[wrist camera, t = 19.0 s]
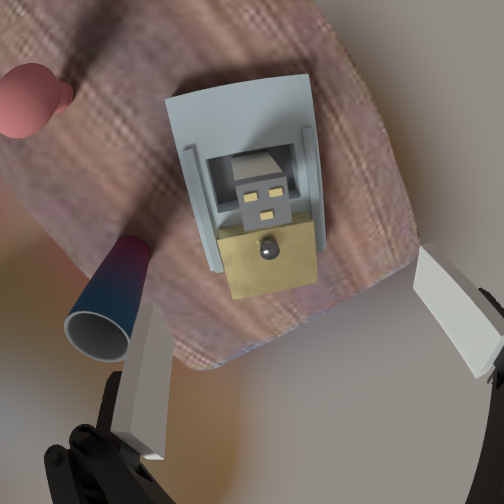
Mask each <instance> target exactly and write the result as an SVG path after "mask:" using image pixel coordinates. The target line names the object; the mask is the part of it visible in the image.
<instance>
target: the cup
mask: <svg viewBox="0 0 504 504" xmlns="http://www.w3.org/2000/svg"><path fill="white" fill-rule="evenodd" d="M149 260H150V252H149V249H148V247H147V245H146V244H145V243H144V242H143V241H142V240H140V239H138V238H136V237H131V236H127V237H123V238H121V239H120V240H118V241H117V243H116V244H115V245H114V247H113V248H112V249H111V251H110V252H109V254H108V255H107V256H106V258H105V259H104V261H103V262H102V264H101V265H100V266H99V268H98V269H97V271H96V272H95V274H94V275H93V277H92V278H91V280H90V281H89V283H88V284H87V286H86V287H85V289H84V290H83V292H82V294H81V295H80V297H79V298H78V300H77V302H76V303H75V305H74V306H73V308H72V310H71V311H70V313H69V314H68V316H67V318H66V320H65V323H64V329H65V333H66V335H67V337H68V339H69V340H70V342H71V343H72V344H73V345H74V347H75V348H77V349H78V350H79V351H80V352H82V353H83V354H85V355H87V356H89V357H91V358H93V359H96V360H99V361H103V362H118V361H121V360H124V359H125V358H126V355H127V351H128V347H129V343H130V339H131V335H132V331H133V328H134V324H135V320H136V317H137V313H138V310H139V306H140V301H141V296H142V291H143V286H144V282H145V277H146V273H147V269H148V264H149Z"/></svg>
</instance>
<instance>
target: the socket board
mask: <svg viewBox="0 0 504 504" xmlns="http://www.w3.org/2000/svg"><path fill="white" fill-rule="evenodd" d="M165 102H166V106H167V111H168V115H169V119H170V123H171V127H172V132H173V136H174V140H175V144H176V148H177V152H178V156H179V160H180V163H181V167H182V171H183V175H184V179H185V183H186V186H187V190H188V194H189V197H190V201H191V205H192V208H193V212H194V215H195V219H196V222H197V226H198V229H199V233H200V236H201V240H202V243H203V247H204V250H205V253H206V257H207V260H208V263H209V267H210V270H211V271H215V272H216V273H219V272H224V265H223V261H222V258H221V254H220V250H219V246H218V243H217V229H221V228H226V227H230V226H235V225H240V224H243V221H242V217H241V212H240V207H239V202H238V198H237V193H236V188H235V182H234V175H233V168H232V162H231V158H235V157H240V156H245V155H250V154H256V153H261V152H268V153H269V154H270V156H271V157H272V158H273V160H274V161H275V162H276V164H277V165H278V166H279V168H280V169H281V170H282V172H283V173H284V174H285V176H286V179H287V186H288V193H289V201H290V209H291V214H297V213H302V212H308V213H309V215H310V216H311V218H312V219H313V221H314V231H315V245H316V253H318V252H323V249H324V248H326V233H325V216H324V202H323V189H322V177H321V167H320V157H319V147H318V138H317V130H316V122H315V114H314V107H313V100H312V93H311V87H310V80H309V74H301V75H290V76H281V77H272V78H265V79H258V80H251V81H245V82H239V83H233V84H228V85H223V86H218V87H213V88H208V89H204V90H200V91H195V92H191V93H187V94H183V95H179V96H176V97H172V98H168V99H165Z"/></svg>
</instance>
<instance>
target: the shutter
mask: <svg viewBox="0 0 504 504" xmlns="http://www.w3.org/2000/svg"><path fill="white" fill-rule="evenodd" d="M291 217H292V222H291V223H286V224H281V225H275V226H270V227H265V228H260V229H255V230H250V231H244V226H243V224H240V225H235V226H230V227H226V228H221V229H217V243H218V246H219V250H220V254H221V258H222V261H223V265H224V269H225V272H226V276H227V279H228V283H229V287H230V290H231V294H232V297H233V300H236V299H241V298H246V297H251V296H256V295H261V294H266V293H271V292H276V291H281V290H286V289H290V288H295V287H300V286H304V285H309V284H313V283H318V279H317V261H316V245H315V231H314V221H313V219H312V218H311V216H310V215H309V213H308V212H302V213H297V214H291Z"/></svg>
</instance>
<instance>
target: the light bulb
mask: <svg viewBox="0 0 504 504" xmlns="http://www.w3.org/2000/svg"><path fill="white" fill-rule="evenodd" d="M72 97H73V90H72V87H71V85H70V84H69V83H67V82H65V81H60V80H59V79H57V78H56V77H55V76H54V74H53V73H52V72H51V71H50V69H48V68H47V67H45V66H43V65H40V64H36V63H28V64H23V65H20V66H18V67H16V68H14V69H12V70H11V71H9V72H8V73H7V74H6V75H5V76H4V77H3V78H2V79H1V80H0V132H1V133H2V134H4V135H5V136H8V137H11V138H23V137H27V136H30V135H32V134H34V133H36V132H37V131H39V130H40V129H41V128H42V127H44V126H45V125H46V124H47V122H48V121H49V120H50V118H51V117H52V115H53V114H55V113H59V112H62V111H63V110H65V109H66V108H67V107H68V106H69V105H70V103H71V101H72Z"/></svg>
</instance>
